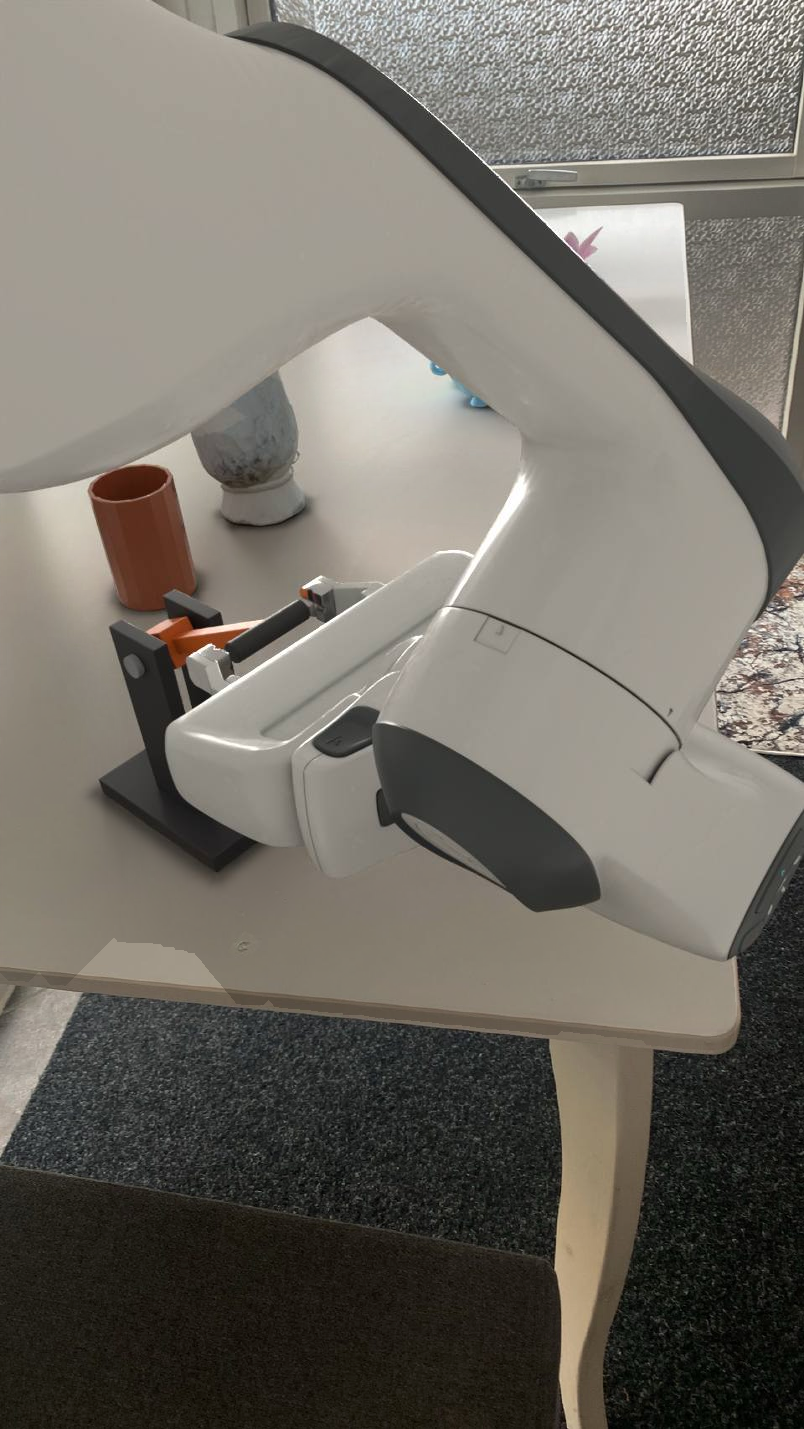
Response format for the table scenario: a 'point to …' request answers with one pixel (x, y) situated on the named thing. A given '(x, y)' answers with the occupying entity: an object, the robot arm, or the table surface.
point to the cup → (143, 534)
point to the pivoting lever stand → (156, 706)
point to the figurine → (254, 455)
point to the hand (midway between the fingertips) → (256, 626)
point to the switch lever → (228, 634)
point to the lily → (585, 247)
